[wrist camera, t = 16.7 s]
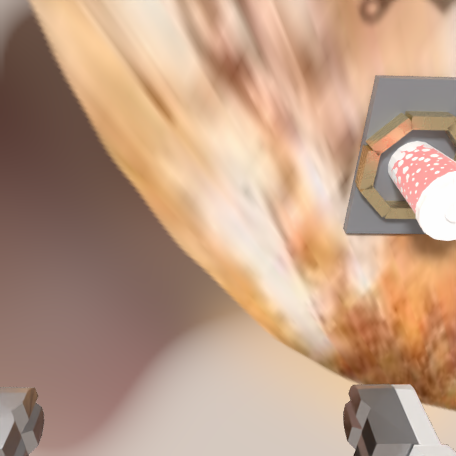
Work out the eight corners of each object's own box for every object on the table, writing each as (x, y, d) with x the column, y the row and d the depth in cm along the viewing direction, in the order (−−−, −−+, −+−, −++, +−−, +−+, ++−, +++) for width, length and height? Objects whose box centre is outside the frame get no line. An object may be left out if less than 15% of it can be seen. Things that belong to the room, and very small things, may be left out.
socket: (370, 110, 38) (376, 115, 36) (482, 112, 38) (492, 117, 37) (348, 210, 43) (353, 218, 42) (446, 211, 43) (454, 219, 42)
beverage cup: (368, 179, 41) (431, 265, 29) (403, 123, 38) (490, 193, 26) (418, 199, 43) (498, 288, 31) (457, 146, 40) (562, 223, 28)
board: (375, 75, 37) (379, 77, 36) (484, 78, 37) (491, 80, 36) (343, 228, 45) (345, 233, 44) (432, 229, 46) (436, 234, 45)
